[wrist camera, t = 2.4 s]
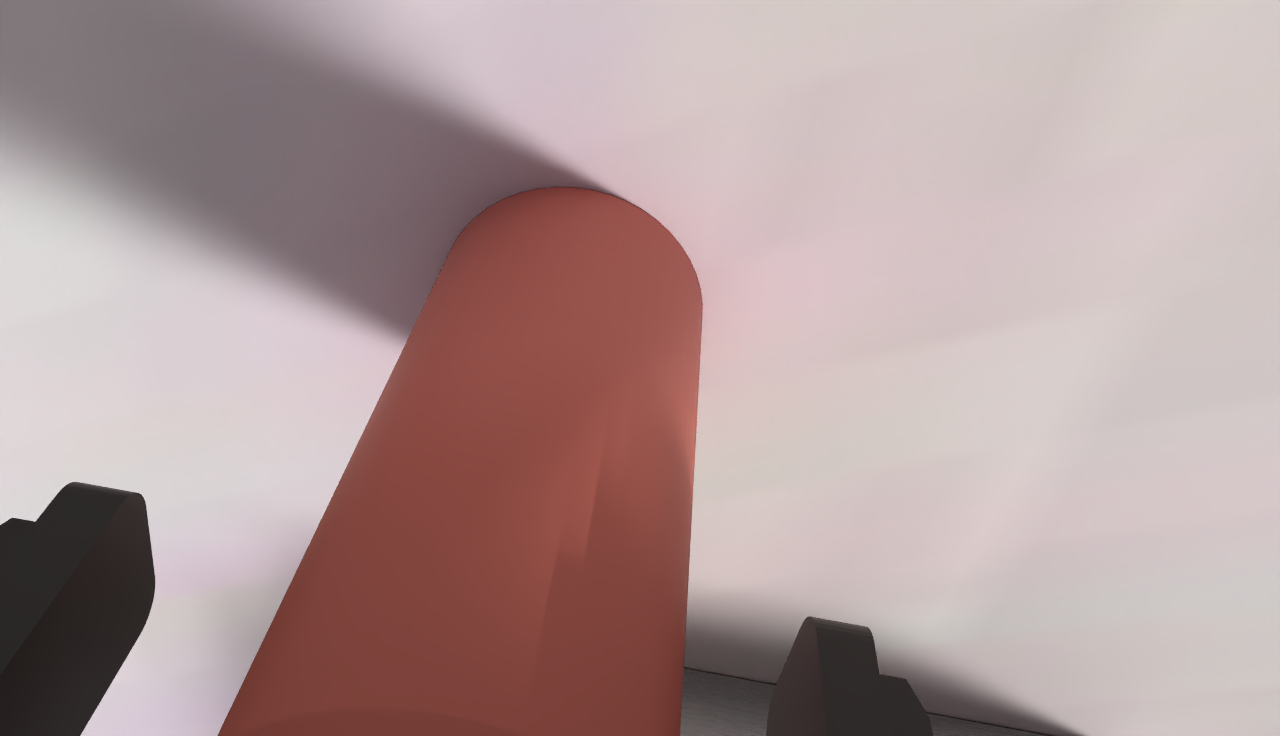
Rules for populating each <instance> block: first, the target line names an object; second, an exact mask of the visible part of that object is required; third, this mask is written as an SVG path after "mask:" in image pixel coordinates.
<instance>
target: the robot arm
mask: <svg viewBox="0 0 1280 736" xmlns="http://www.w3.org/2000/svg"><path fill="white" fill-rule="evenodd" d="M154 592H155V574H154V566H153V558H152V550H151V542H150V534H149V526H148V518H147V510H146V504H145V500H144V498H143V496H142V495H141V494H139V493H135V492H129V491H124V490H118V489H113V488H107V487H102V486H96V485H91V484H85V483H80V482H72V483H69V484H68V485H66V486H65V487H64V488H62V489H61V491H60V492H59V493H58V494H57V495H56V497H55V498H54V499H53V500H52V502H51V503H50V504H49V505H48V507H47V508H46V509H45V510H44V512H43V513H42V514H41V515H40V517H39V518H38V519H37V521H36V522H33V521H28V520H22V519H17V518H11V519H9V520H8V521H6V522H5V523H3V524H2V525H0V736H80V735H81V733H82V732H83V730H84V728H85V727H86V725H87V723H88V721H89V720H90V718H91V716H92V715H93V713H94V711H95V710H96V708H97V706H98V705H99V703H100V701H101V700H102V698H103V696H104V695H105V693H106V691H107V689H108V688H109V686H110V684H111V683H112V681H113V679H114V678H115V676H116V674H117V673H118V671H119V669H120V668H121V666H122V664H123V662H124V661H125V659H126V657H127V656H128V654H129V652H130V651H131V649H132V647H133V646H134V644H135V642H136V641H137V639H138V637H139V635H140V634H141V632H142V630H143V628H144V626H145V624H146V621H147V619H148V616H149V613H150V610H151V606H152V603H153V598H154ZM766 736H933V731H932V726H931V721H930V718H929V716H928V715H927V713H926V711H925V710H924V708H923V706H922V705H921V703H920V702H919V700H918V698H917V697H916V695H915V693H914V692H913V690H912V688H911V687H910V685H909V683H908V682H907V680H906V679H902V678H897V677H891V676H885V675H880V674H879V670H878V663H877V657H876V651H875V645H874V639H873V636H872V633H871V631H870V629H869V628H868V627H865V626H859V625H853V624H848V623H842V622H837V621H831V620H826V619H820V618H815V617H807V618H806V619H805V620H804V622H803V624H802V626H801V628H800V630H799V633H798V635H797V637H796V640H795V642H794V644H793V647H792V649H791V651H790V654H789V656H788V658H787V661H786V663H785V665H784V668H783V670H782V673H781V675H780V677H779V680H778V682H777V684H776V687H775V689H774V692H773V695H772V698H771V702H770V707H769V712H768V719H767V730H766Z"/></svg>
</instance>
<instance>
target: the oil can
mask: <svg viewBox="0 0 1280 736" xmlns="http://www.w3.org/2000/svg"><path fill="white" fill-rule="evenodd" d="M702 308H703V303H702V295H701V288H700V285H699V281H698V278H697V274H696V272H695V270H694V267H693V265H692V263H691V261H690V259H689V257H688V256H687V254H686V252H685V251H684V249H683V248H682V246H681V245H680V244H679V242H678V241H677V240H676V239H675V238H674V236H673V235H672V234H671V233H670V232H669V231H668V230H667V229H666V228H665V227H664V226H663V225H662V224H661V223H659V222H658V221H657V220H656V219H654V218H653V217H652V216H650V215H649V214H647V213H646V212H645V211H643V210H641V209H640V208H638V207H636V206H634V205H632V204H630V203H629V202H627V201H624V200H622V199H619V198H617V197H614V196H612V195H609V194H605V193H601V192H598V191H594V190H589V189H582V188H575V187H550V188H540V189H534V190H530V191H525V192H521V193H518V194H515V195H513V196H510V197H507V198H505V199H503V200H501V201H499V202H497V203H495V204H493V205H491V206H490V207H488V208H487V209H485V210H484V211H483V212H481V213H480V214H479V215H477V216H476V217H475V218H474V219H473V220H472V221H471V222H470V223H469V224H468V225H467V226H466V227H465V228H464V230H463V231H462V232H461V234H460V235H459V237H458V238H457V239H456V241H455V243H454V245H453V247H452V249H451V251H450V253H449V255H448V257H447V259H446V261H445V263H444V265H443V267H442V269H441V271H440V273H439V275H438V278H437V280H436V282H435V284H434V286H433V288H432V290H431V292H430V294H429V296H428V298H427V300H426V303H425V305H424V307H423V309H422V311H421V313H420V315H419V317H418V319H417V321H416V323H415V325H414V328H413V330H412V332H411V334H410V336H409V338H408V340H407V342H406V344H405V346H404V348H403V350H402V353H401V355H400V357H399V359H398V361H397V363H396V365H395V367H394V369H393V371H392V373H391V375H390V378H389V380H388V382H387V384H386V386H385V388H384V390H383V392H382V394H381V396H380V398H379V400H378V403H377V405H376V407H375V409H374V411H373V413H372V415H371V417H370V419H369V421H368V423H367V425H366V428H365V430H364V432H363V434H362V436H361V438H360V440H359V442H358V444H357V446H356V448H355V450H354V453H353V455H352V457H351V459H350V461H349V463H348V465H347V467H346V469H345V471H344V473H343V475H342V478H341V480H340V482H339V484H338V486H337V488H336V490H335V492H334V494H333V496H332V498H331V500H330V503H329V505H328V507H327V509H326V511H325V513H324V515H323V517H322V519H321V521H320V523H319V525H318V528H317V530H316V532H315V534H314V536H313V538H312V540H311V542H310V544H309V546H308V548H307V550H306V553H305V555H304V557H303V559H302V561H301V563H300V565H299V567H298V569H297V571H296V573H295V575H294V578H293V580H292V582H291V584H290V586H289V588H288V590H287V592H286V594H285V596H284V598H283V600H282V603H281V605H280V607H279V609H278V611H277V613H276V615H275V617H274V619H273V621H272V623H271V625H270V628H269V630H268V632H267V634H266V636H265V638H264V640H263V642H262V644H261V646H260V648H259V650H258V652H257V655H256V657H255V659H254V661H253V663H252V665H251V667H250V669H249V671H248V673H247V675H246V677H245V680H244V682H243V684H242V686H241V688H240V690H239V692H238V694H237V696H236V698H235V700H234V702H233V705H232V707H231V709H230V711H229V713H228V715H227V717H226V719H225V721H224V723H223V725H222V727H221V730H220V732H219V734H218V736H680V727H681V708H682V689H683V670H684V652H685V633H686V614H687V595H688V576H689V557H690V539H691V520H692V501H693V482H694V463H695V444H696V426H697V407H698V388H699V369H700V350H701V331H702Z"/></svg>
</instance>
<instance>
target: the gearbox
mask: <svg viewBox="0 0 1280 736" xmlns="http://www.w3.org/2000/svg"><path fill="white" fill-rule="evenodd" d="M775 687H776V685H772V684H767V683H761V682H756V681H750V680H745V679H740V678H734V677H729V676H723V675H718V674H713V673H707V672H702V671H696V670H691V669H686V668H684V670H683V689H682V708H681V727H680V736H766V730H767V719H768V712H769V707H770V702H771V698H772V695H773V692H774V689H775ZM927 715H928V716H929V718H930V721H931V726H932V731H933V736H1047V735H1042V734H1037V733H1031V732H1026V731H1020V730H1015V729H1010V728H1004V727H999V726H993V725H988V724H983V723H977V722H972V721H966V720H961V719H956V718H950V717H945V716H939V715H934V714H929V713H927Z"/></svg>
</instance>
